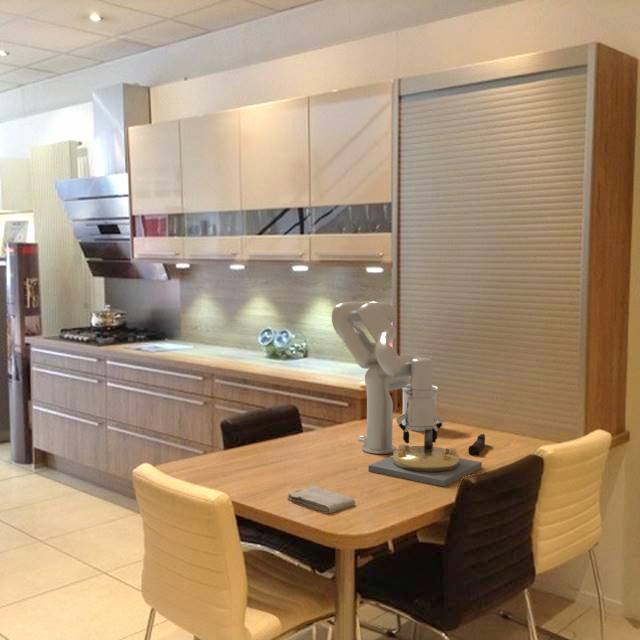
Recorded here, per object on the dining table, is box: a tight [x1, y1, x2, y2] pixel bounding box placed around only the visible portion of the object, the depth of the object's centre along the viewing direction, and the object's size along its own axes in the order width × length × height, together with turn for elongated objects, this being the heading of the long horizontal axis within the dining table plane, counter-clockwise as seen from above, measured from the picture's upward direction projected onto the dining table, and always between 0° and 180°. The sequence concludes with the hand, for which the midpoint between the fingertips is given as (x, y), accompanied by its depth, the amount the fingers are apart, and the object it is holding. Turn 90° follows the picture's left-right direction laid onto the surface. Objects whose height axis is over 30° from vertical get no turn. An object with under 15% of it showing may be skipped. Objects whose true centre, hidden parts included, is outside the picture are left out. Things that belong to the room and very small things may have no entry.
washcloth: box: [286, 485, 356, 514], centre depth 224 cm, size 12×18×3 cm, turn 47°
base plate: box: [367, 455, 483, 487], centre depth 261 cm, size 28×28×2 cm
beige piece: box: [392, 429, 460, 472], centre depth 260 cm, size 22×22×9 cm
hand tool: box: [468, 433, 486, 456], centre depth 289 cm, size 19×4×5 cm, turn 155°
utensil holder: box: [401, 383, 439, 432], centre depth 324 cm, size 15×15×18 cm
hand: (419, 442), depth 269 cm, fingers open, 9 cm apart
